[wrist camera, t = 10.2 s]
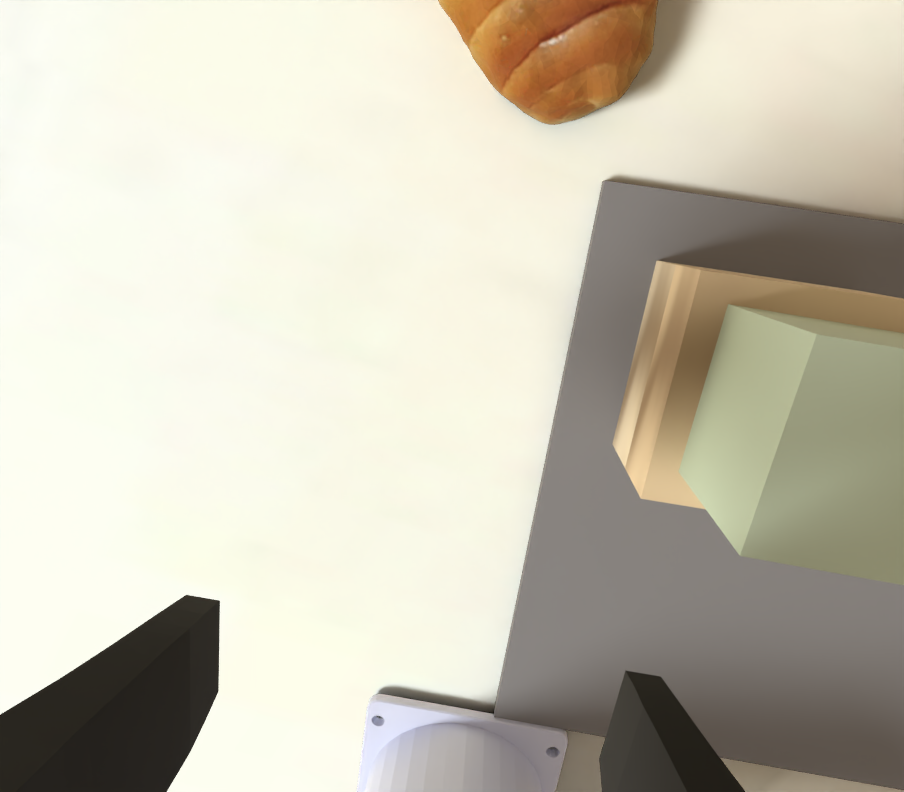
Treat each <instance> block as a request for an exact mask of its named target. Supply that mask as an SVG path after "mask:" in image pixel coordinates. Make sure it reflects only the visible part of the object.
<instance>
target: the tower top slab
mask: <svg viewBox="0 0 904 792" xmlns="http://www.w3.org/2000/svg"><path fill="white" fill-rule="evenodd" d="M728 304H730V305H736V306H742V307H749V308H755V309H761V310H767V311H773V312H779V313H785V314H791V315H797V316H803V317H809V318H815V319H821V320H827V321H833V322H839V323H845V324H851V325H857V326H863V327H869V328H875V329H881V330H887V331H893V332H900V333H904V299H902V298H896V297H889V296H882V295H876V294H869V293H862V292H856V291H849V290H842V289H836V288H829V287H822V286H815V285H809V284H802V283H795V282H789V281H782V280H775V279H769V278H762V277H755V276H749V275H742V274H735V273H728V272H722V271H715V270H708V269H702V268H695V267H688V266H682V265H676V267H675V271H674V275H673V279H672V283H671V287H670V291H669V295H668V299H667V303H666V307H665V311H664V315H663V319H662V323H661V327H660V331H659V335H658V339H657V343H656V347H655V351H654V355H653V359H652V363H651V367H650V371H649V375H648V378H647V383H646V386H645V390H644V394H643V398H642V402H641V406H640V410H639V414H638V418H637V422H636V426H635V430H634V434H633V438H632V442H631V446H630V450H629V454H628V458H627V462H626V466H625V469H626V471H627V473H628V475H629V477H630V479H631V481H632V483H633V485H634V487H635V489H636V490H637V492H638V494H639V496H640V498H641V499H646V500H652V501H658V502H664V503H670V504H676V505H683V506H689V507H695V508H701V509H705V507H704V506H703V505H702V503H701V502H700V501H699V499H698V498H697V497H696V495H695V494H694V492H693V491H692V490H691V488H690V487H689V486H688V484H687V483H686V481H685V480H684V479H683V477H682V476H681V475H680V473H679V472H678V471H679V468H680V465H681V461H682V458H683V455H684V451H685V448H686V444H687V441H688V438H689V434H690V431H691V428H692V424H693V421H694V417H695V414H696V411H697V407H698V404H699V401H700V397H701V394H702V391H703V387H704V384H705V380H706V377H707V374H708V370H709V367H710V364H711V360H712V357H713V353H714V350H715V347H716V343H717V340H718V337H719V333H720V330H721V326H722V323H723V320H724V316H725V313H726V310H727V306H728Z"/></svg>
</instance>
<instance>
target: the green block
mask: <svg viewBox="0 0 904 792" xmlns="http://www.w3.org/2000/svg"><path fill="white" fill-rule="evenodd" d="M678 472H679V473H680V475H681V476H682V477H683V479H684V480H685V481H686V483H687V484H688V486H689V487H690V488H691V490H692V491H693V492H694V494H695V495H696V497H697V498H698V499H699V501H700V502H701V503H702V505H703V506H704V507H705V509H706V510H707V512H708V513H709V514H710V516H711V517H712V518H713V520H714V521H715V523H716V524H717V525H718V527H719V528H720V529H721V531H722V532H723V534H724V535H725V536H726V538H727V539H728V540H729V542H730V543H731V544H732V546H733V547H734V549H735V550H736V551H737V553H738V554H739V555H740V556H743V557H748V558H754V559H760V560H765V561H771V562H776V563H782V564H787V565H793V566H799V567H804V568H810V569H815V570H821V571H827V572H832V573H838V574H843V575H849V576H855V577H860V578H866V579H871V580H877V581H883V582H888V583H894V584H899V585H904V333H900V332H893V331H887V330H881V329H875V328H869V327H863V326H857V325H851V324H845V323H839V322H833V321H827V320H821V319H815V318H809V317H803V316H797V315H791V314H785V313H779V312H773V311H767V310H761V309H755V308H749V307H742V306H736V305H730V304H728V306H727V310H726V313H725V316H724V320H723V323H722V326H721V330H720V333H719V337H718V340H717V343H716V347H715V350H714V353H713V357H712V360H711V364H710V367H709V370H708V374H707V377H706V380H705V384H704V387H703V391H702V394H701V397H700V401H699V404H698V407H697V411H696V414H695V417H694V421H693V424H692V428H691V431H690V434H689V438H688V441H687V444H686V448H685V451H684V455H683V458H682V461H681V465H680V468H679V471H678Z"/></svg>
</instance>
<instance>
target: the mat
mask: <svg viewBox="0 0 904 792" xmlns="http://www.w3.org/2000/svg"><path fill="white" fill-rule="evenodd" d="M656 261H664V262H670V263H677V264H684V265H691V266H697V267H704V268H711V269H717V270H724V271H731V272H737V273H744V274H751V275H758V276H764V277H771V278H778V279H784V280H791V281H798V282H804V283H811V284H818V285H824V286H831V287H838V288H845V289H851V290H858V291H864V292H869V293H875V294H880V295H886V296H891V297H897V298H903V299H904V224H902V223H895V222H888V221H881V220H874V219H867V218H860V217H853V216H846V215H840V214H833V213H826V212H819V211H812V210H805V209H798V208H791V207H784V206H777V205H771V204H764V203H757V202H750V201H743V200H736V199H729V198H722V197H715V196H709V195H702V194H695V193H688V192H681V191H674V190H667V189H660V188H653V187H646V186H640V185H633V184H626V183H619V182H612V181H603V182H602V187H601V192H600V197H599V201H598V206H597V211H596V216H595V221H594V226H593V231H592V235H591V240H590V245H589V250H588V255H587V260H586V265H585V269H584V274H583V279H582V284H581V289H580V294H579V299H578V304H577V308H576V313H575V318H574V323H573V328H572V333H571V338H570V342H569V347H568V352H567V357H566V362H565V367H564V372H563V377H562V381H561V386H560V391H559V396H558V401H557V406H556V411H555V415H554V420H553V425H552V430H551V435H550V440H549V445H548V450H547V454H546V459H545V464H544V469H543V474H542V479H541V484H540V488H539V493H538V498H537V503H536V508H535V513H534V518H533V522H532V527H531V532H530V537H529V542H528V547H527V552H526V557H525V561H524V566H523V571H522V576H521V581H520V586H519V591H518V595H517V600H516V605H515V610H514V615H513V620H512V625H511V630H510V634H509V639H508V644H507V649H506V654H505V659H504V664H503V668H502V673H501V678H500V683H499V688H498V693H497V698H496V702H495V707H494V717H497V718H502V719H508V720H513V721H519V722H525V723H530V724H536V725H541V726H547V727H553V728H558V729H564V730H569V731H575V732H581V733H586V734H592V735H598V736H603V737H606V735H607V731H608V728H609V725H610V721H611V718H612V714H613V711H614V708H615V704H616V701H617V698H618V694H619V691H620V687H621V684H622V681H623V677H624V674H625V670H626V671H632V672H637V673H643V674H649V675H655V676H661V677H662V679H663V680H664V682H665V683H666V684H667V686H668V687H669V688H670V690H671V691H672V693H673V694H674V695H675V697H676V698H677V700H678V701H679V702H680V704H681V705H682V706H683V708H684V709H685V711H686V712H687V713H688V715H689V716H690V718H691V719H692V720H693V722H694V723H695V725H696V726H697V727H698V729H699V730H700V732H701V733H702V734H703V736H704V737H705V738H706V740H707V741H708V743H709V744H710V745H711V747H712V748H713V749H714V751H715V752H716V753H717V755H718V756H719V757H721V758H727V759H732V760H738V761H743V762H749V763H755V764H760V765H766V766H771V767H777V768H783V769H788V770H794V771H799V772H805V773H811V774H816V775H822V776H827V777H833V778H839V779H844V780H850V781H856V782H861V783H867V784H872V785H878V786H884V787H889V788H895V789H900V790H904V585H899V584H894V583H888V582H883V581H877V580H871V579H866V578H860V577H855V576H849V575H843V574H838V573H832V572H827V571H821V570H815V569H810V568H804V567H799V566H793V565H787V564H782V563H776V562H771V561H765V560H760V559H754V558H748V557H743V556H740V555H739V554H738V553H737V551H736V550H735V549H734V547H733V546H732V544H731V543H730V542H729V540H728V539H727V538H726V536H725V535H724V534H723V532H722V531H721V529H720V528H719V527H718V525H717V524H716V523H715V521H714V520H713V518H712V517H711V516H710V514H709V513H708V512H707V510H706V509H701V508H695V507H689V506H683V505H676V504H670V503H664V502H658V501H652V500H646V499H641V498H640V496H639V494H638V492H637V490H636V489H635V487H634V485H633V483H632V481H631V479H630V477H629V475H628V473H627V471H626V469H625V467H624V465H623V464H622V462H621V460H620V458H619V456H618V454H617V452H616V450H615V448H614V446H613V439H614V435H615V431H616V427H617V423H618V419H619V414H620V410H621V406H622V402H623V398H624V394H625V389H626V385H627V381H628V377H629V373H630V369H631V365H632V360H633V356H634V352H635V348H636V344H637V340H638V335H639V331H640V327H641V323H642V319H643V315H644V310H645V306H646V302H647V298H648V294H649V290H650V286H651V281H652V277H653V273H654V269H655V265H656Z"/></svg>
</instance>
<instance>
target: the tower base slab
mask: <svg viewBox="0 0 904 792" xmlns="http://www.w3.org/2000/svg"><path fill="white" fill-rule="evenodd" d="M676 265H682V266H688V267H695V268H702V269H708V270H715V271H722V272H728V273H735V274H742V275H749V276H755V277H762V278H769V279H775V280H782V281H789V282H795V283H802V284H809V285H815V286H822V287H829V288H836V289H842V290H849V291H856V292H862V293H869V292H864V291H858V290H851V289H845V288H838V287H831V286H824V285H818V284H811V283H804V282H798V281H791V280H784V279H778V278H771V277H764V276H758V275H751V274H744V273H737V272H731V271H724V270H717V269H711V268H704V267H697V266H691V265H684V264H677V263H670V262H664V261H656V265H655V269H654V273H653V277H652V281H651V286H650V290H649V294H648V298H647V302H646V306H645V310H644V315H643V319H642V323H641V327H640V331H639V335H638V340H637V344H636V348H635V352H634V356H633V360H632V365H631V369H630V373H629V377H628V381H627V385H626V389H625V394H624V398H623V402H622V406H621V410H620V414H619V419H618V423H617V427H616V431H615V435H614V439H613V446H614V448H615V450H616V452H617V454H618V456H619V458H620V460H621V462H622V464H623V465H624V467H625V466H626V462H627V458H628V454H629V450H630V446H631V442H632V438H633V434H634V430H635V426H636V422H637V418H638V414H639V410H640V406H641V402H642V398H643V394H644V390H645V386H646V383H647V378H648V375H649V371H650V367H651V363H652V359H653V355H654V351H655V347H656V343H657V339H658V335H659V331H660V327H661V323H662V319H663V315H664V311H665V307H666V303H667V299H668V295H669V291H670V287H671V283H672V279H673V275H674V271H675V267H676ZM869 294H875V293H869ZM876 295H880V294H876ZM882 296H886V295H882ZM889 297H891V296H889ZM896 298H897V297H896ZM902 299H903V298H902Z"/></svg>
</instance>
